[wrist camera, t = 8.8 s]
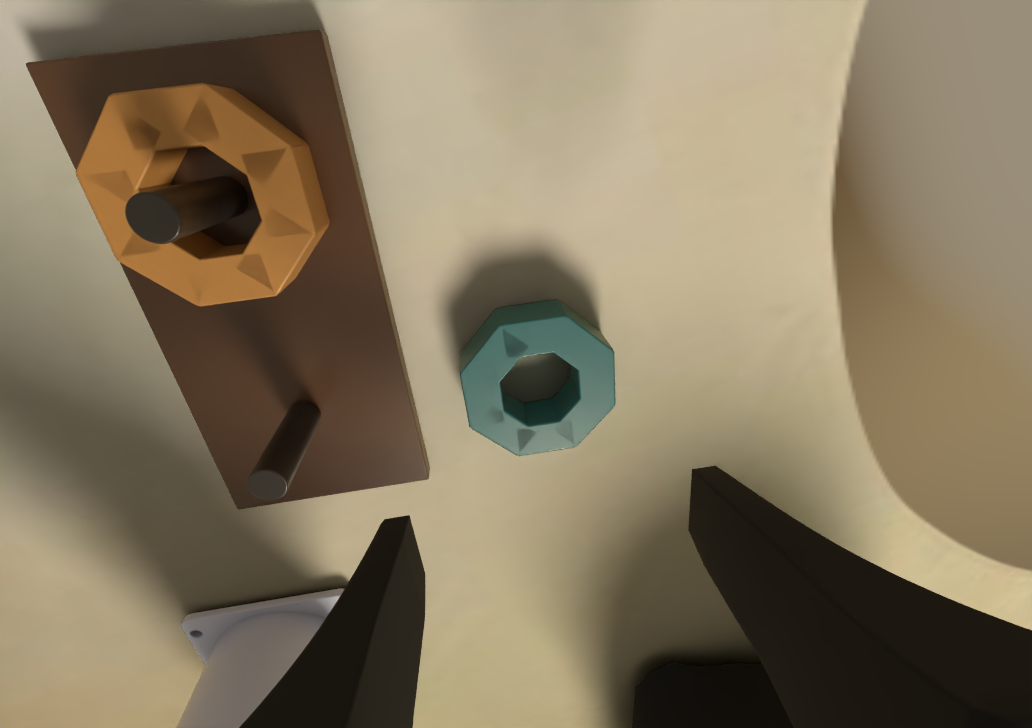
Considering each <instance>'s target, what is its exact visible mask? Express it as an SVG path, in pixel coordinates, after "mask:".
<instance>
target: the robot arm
mask: <svg viewBox="0 0 1032 728" xmlns="http://www.w3.org/2000/svg"><path fill="white" fill-rule="evenodd" d="M688 530H689V532H690V534H691V537H692V539H693V541H694V544H695V546H696V548H697V551H698V553H699V555H700V557H701V559H702V561H703V564H704V566H705V568H706V569H707V571H708V573H709V575H710V576H711V578H712V580H713V581H714V583H715V585H716V587H717V588H718V590H719V592H720V593H721V595H722V597H723V598H724V600H725V602H726V603H727V605H728V607H729V608H730V610H731V612H732V613H733V615H734V617H735V618H736V620H737V621H738V623H739V625H740V626H741V628H742V630H743V631H744V633H745V635H746V636H747V638H748V640H749V641H750V643H751V645H752V646H753V648H754V650H755V651H756V653H757V655H758V657H759V659H760V660H761V662H762V664H763V666H764V668H765V669H766V671H767V673H768V675H769V677H770V679H771V681H772V684H773V686H774V688H775V690H776V692H777V694H778V696H779V698H780V700H781V702H782V704H783V706H784V708H785V710H786V712H787V714H788V716H789V719H790V721H791V723H792V725H793V727H794V728H1032V630H1029V629H1026V628H1023V627H1020V626H1017V625H1015V624H1012V623H1009V622H1007V621H1004V620H1002V619H999V618H996V617H994V616H991V615H988V614H986V613H983V612H980V611H978V610H975V609H973V608H970V607H968V606H965V605H963V604H960V603H958V602H955V601H953V600H951V599H948V598H946V597H943V596H941V595H939V594H937V593H934V592H932V591H930V590H928V589H925V588H923V587H921V586H919V585H916V584H914V583H912V582H910V581H907V580H905V579H903V578H901V577H899V576H897V575H895V574H893V573H891V572H889V571H886V570H885V569H883V568H881V567H879V566H877V565H875V564H873V563H871V562H869V561H867V560H865V559H863V558H861V557H859V556H857V555H855V554H853V553H852V552H850V551H848V550H846V549H844V548H842V547H841V546H839V545H837V544H835V543H834V542H832V541H830V540H829V539H827V538H825V537H824V536H822V535H820V534H818V533H817V532H815V531H813V530H812V529H810V528H808V527H807V526H805V525H804V524H802V523H800V522H799V521H797V520H796V519H794V518H792V517H791V516H789V515H788V514H786V513H785V512H783V511H782V510H780V509H779V508H777V507H775V506H774V505H772V504H771V503H769V502H768V501H766V500H765V499H764V498H762V497H761V496H759V495H758V494H756V493H755V492H753V491H752V490H750V489H749V488H747V487H746V486H745V485H743V484H742V483H740V482H739V481H737V480H736V479H734V478H733V477H732V476H730V475H729V474H727V473H726V472H724V471H723V470H721V469H720V468H718V467H717V466H710V467H704V468H698V469H692V479H691V496H690V512H689V529H688ZM424 620H425V572H424V568H423V564H422V560H421V557H420V553H419V549H418V546H417V542H416V538H415V534H414V531H413V527H412V523H411V520H410V516H409V515H408V516H402V517H396V518H390V519H385V520H384V521H383V522H382V523H381V525H380V527H379V529H378V531H377V533H376V535H375V536H374V538H373V540H372V542H371V544H370V546H369V548H368V550H367V551H366V553H365V555H364V557H363V559H362V560H361V562H360V564H359V566H358V567H357V569H356V571H355V572H354V574H353V576H352V577H351V579H350V581H349V582H348V584H347V586H346V587H345V588H340V589H334V590H328V591H322V592H316V593H310V594H304V595H298V596H292V597H286V598H280V599H274V600H269V601H263V602H257V603H251V604H245V605H239V606H233V607H227V608H221V609H215V610H209V611H203V612H197V613H192V614H189V615H187V616H186V617H185V618H184V620H183V622H182V624H181V627H182V629H183V631H184V632H185V634H186V635H187V637H188V639H189V640H190V642H191V643H192V645H193V647H194V648H195V650H196V651H197V653H198V654H199V656H200V658H201V659H202V661H203V662H204V664H205V668H204V670H203V672H202V674H201V677H200V679H199V681H198V683H197V685H196V687H195V689H194V691H193V694H192V696H191V698H190V700H189V702H188V704H187V706H186V709H185V711H184V713H183V715H182V717H181V719H180V721H179V723H178V726H177V728H413V716H414V707H415V698H416V690H417V681H418V673H419V664H420V656H421V647H422V638H423V630H424Z"/></svg>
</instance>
